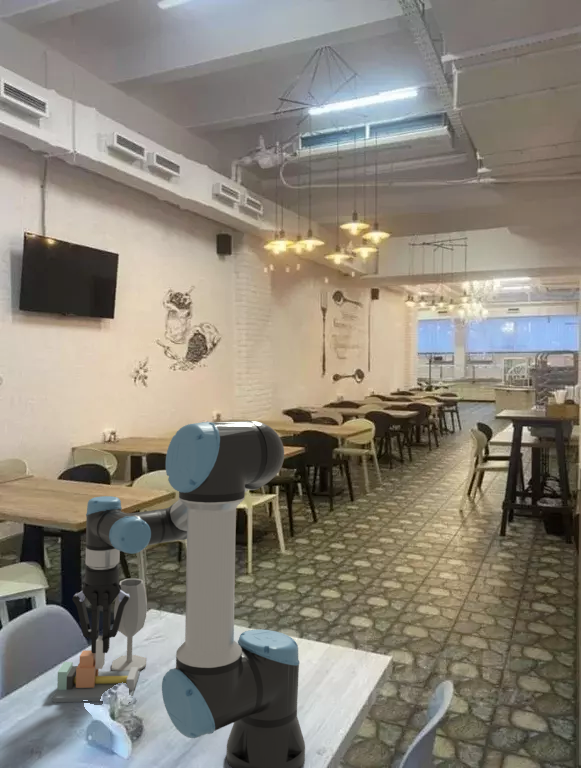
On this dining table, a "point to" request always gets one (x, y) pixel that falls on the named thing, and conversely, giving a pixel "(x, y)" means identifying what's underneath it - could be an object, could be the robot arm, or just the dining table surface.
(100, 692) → the linear slide rail
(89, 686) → the sleeve
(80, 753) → the dining table surface
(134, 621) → the wineglass
